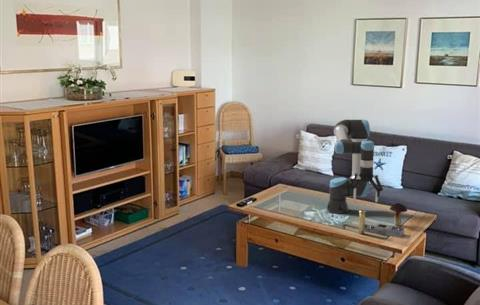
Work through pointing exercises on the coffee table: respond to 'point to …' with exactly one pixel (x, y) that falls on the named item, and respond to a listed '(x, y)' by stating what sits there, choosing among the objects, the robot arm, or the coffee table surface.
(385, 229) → the riveted socket bracket
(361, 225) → the brass pin
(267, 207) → the coffee table surface
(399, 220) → the decorative mushroom
